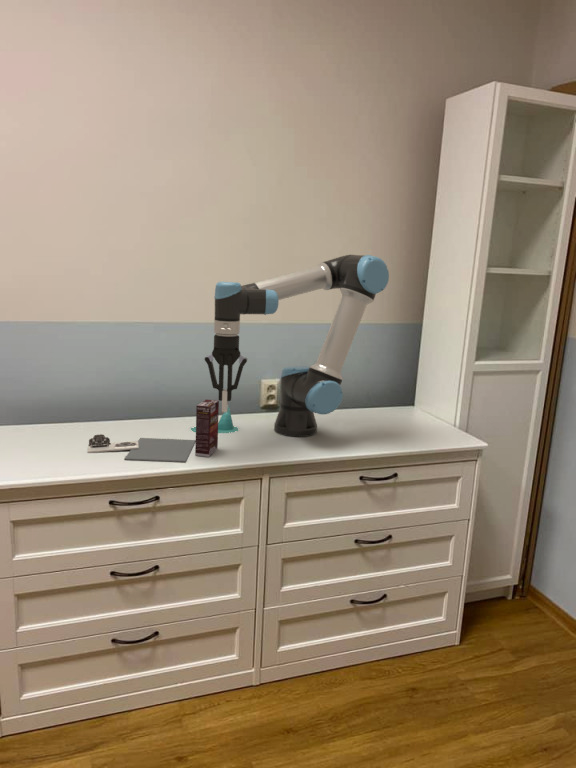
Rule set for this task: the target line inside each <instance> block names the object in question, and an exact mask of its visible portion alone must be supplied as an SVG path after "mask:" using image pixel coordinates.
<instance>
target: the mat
mask: <svg viewBox="0 0 576 768" xmlns="http://www.w3.org/2000/svg"><path fill="white" fill-rule="evenodd" d="M137 441H138V445H139V449H133V450H129V452H128V453H127V454H126V455H125V457H124V459H123V460H124V461H133V462H134V461H137V462H138V461H139V462H140V461H141V462H161V463H163V462H164V463H165V462H166V463H186V462H187V461H188V458H189V457H190V454H191V452H192V450H193V448H194V446H195V445H196V439H176V438H175V439H174V438H154V437H140V438H139V439H138V440H137Z"/></svg>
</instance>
